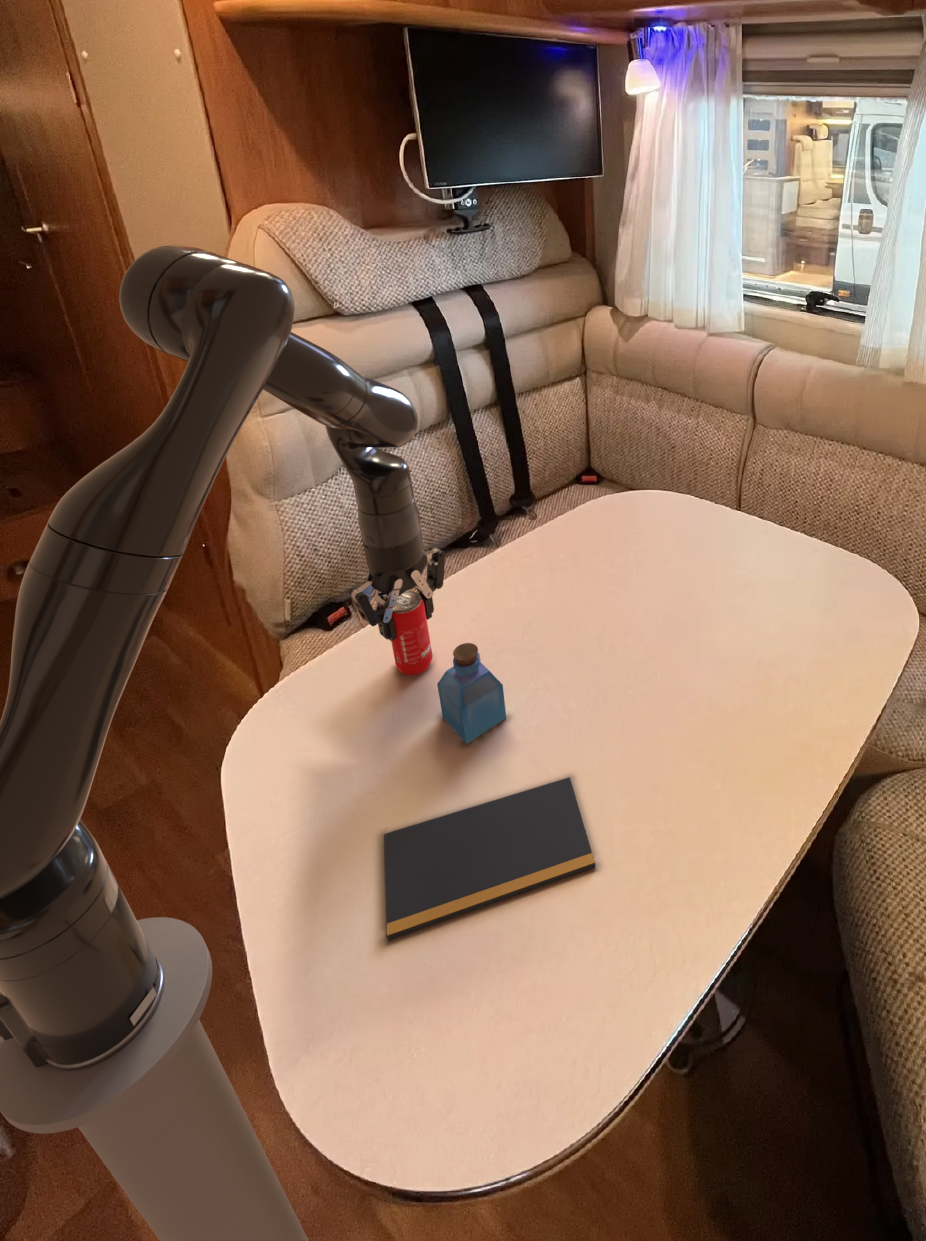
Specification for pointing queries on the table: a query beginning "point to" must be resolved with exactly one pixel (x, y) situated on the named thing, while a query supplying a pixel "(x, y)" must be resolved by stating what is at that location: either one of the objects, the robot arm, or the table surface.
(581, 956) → the table surface
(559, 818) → the front mat
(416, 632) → the beverage can
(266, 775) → the table surface
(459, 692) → the perfume bottle
